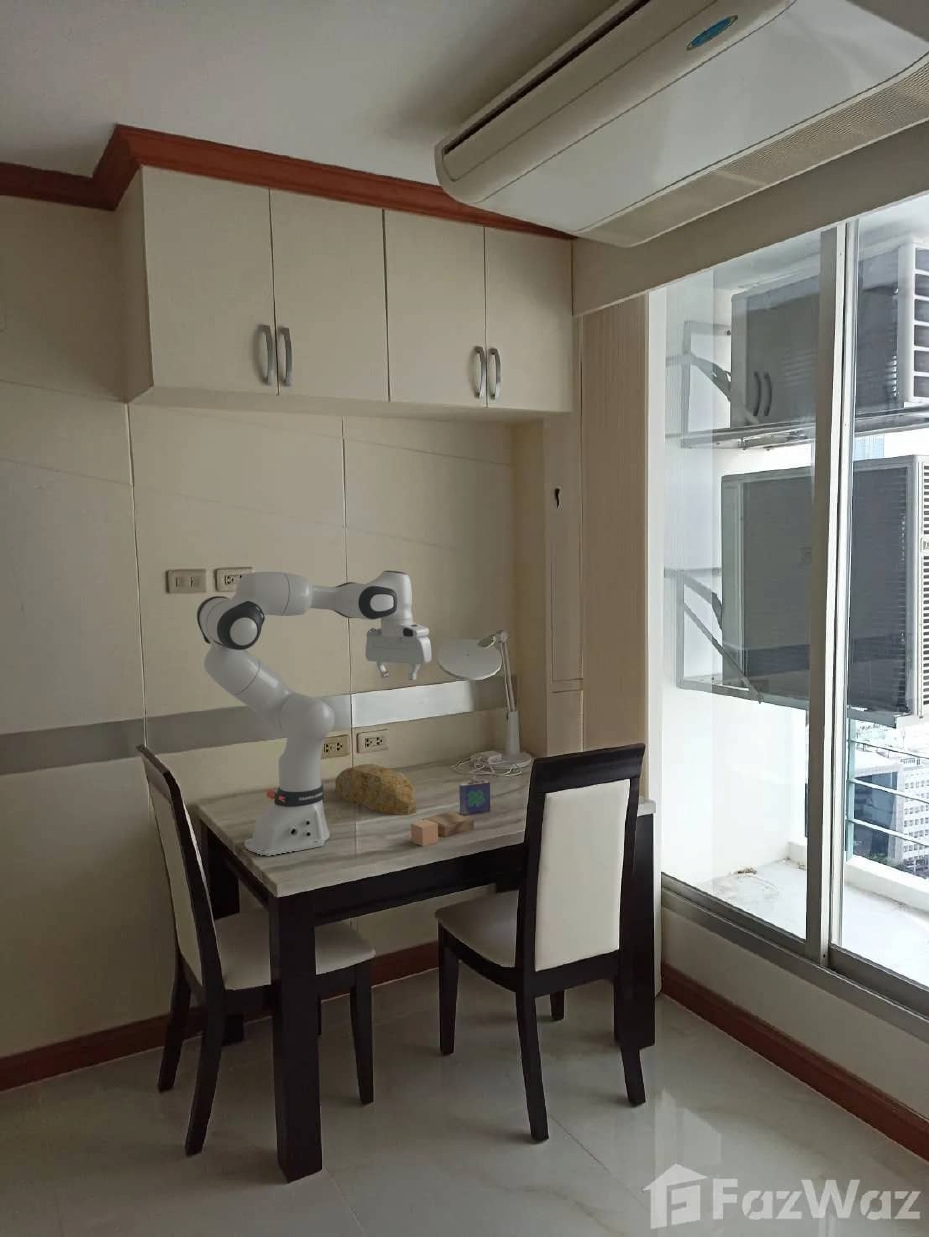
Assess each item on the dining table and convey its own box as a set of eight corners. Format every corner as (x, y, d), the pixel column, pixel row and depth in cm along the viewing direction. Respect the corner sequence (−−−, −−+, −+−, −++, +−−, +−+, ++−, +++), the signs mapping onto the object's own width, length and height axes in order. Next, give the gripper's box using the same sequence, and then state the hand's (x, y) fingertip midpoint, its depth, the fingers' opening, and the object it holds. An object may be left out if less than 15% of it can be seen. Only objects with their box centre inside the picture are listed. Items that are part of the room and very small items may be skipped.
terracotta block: (422, 846, 239) (422, 827, 239) (411, 841, 243) (410, 823, 243) (438, 841, 242) (437, 823, 242) (426, 837, 246) (426, 819, 246)
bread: (427, 810, 270) (426, 776, 269) (397, 818, 263) (396, 784, 262) (355, 786, 297) (354, 756, 296) (326, 794, 289) (325, 762, 288)
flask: (461, 816, 263) (460, 779, 262) (458, 813, 266) (457, 777, 264) (491, 812, 266) (491, 776, 265) (488, 809, 268) (487, 773, 267)
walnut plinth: (445, 836, 246) (444, 827, 246) (422, 828, 254) (422, 818, 253) (473, 828, 252) (473, 818, 252) (450, 819, 260) (450, 810, 260)
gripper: (359, 628, 258) (361, 677, 260) (421, 631, 248) (422, 682, 249) (373, 626, 264) (374, 674, 265) (433, 629, 253) (435, 679, 255)
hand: (398, 678), depth 257 cm, fingers open, 8 cm apart
